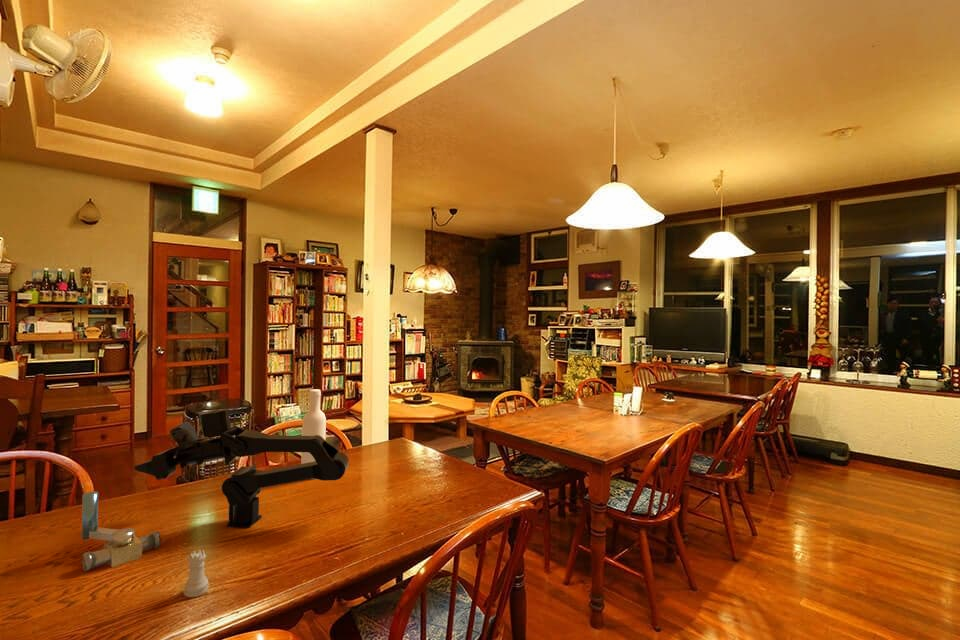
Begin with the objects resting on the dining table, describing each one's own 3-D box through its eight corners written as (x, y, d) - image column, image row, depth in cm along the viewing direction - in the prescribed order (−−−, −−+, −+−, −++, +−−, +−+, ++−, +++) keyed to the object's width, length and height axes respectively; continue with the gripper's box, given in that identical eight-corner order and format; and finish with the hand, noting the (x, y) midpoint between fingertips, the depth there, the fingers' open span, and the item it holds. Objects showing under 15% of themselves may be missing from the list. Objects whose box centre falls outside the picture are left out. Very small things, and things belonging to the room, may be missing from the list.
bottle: (308, 470, 164) (310, 387, 164) (328, 472, 163) (331, 388, 162) (296, 478, 156) (298, 391, 156) (317, 480, 155) (320, 392, 154)
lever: (138, 537, 106) (139, 494, 106) (122, 546, 102) (123, 501, 102) (93, 531, 108) (93, 489, 108) (75, 539, 104) (76, 496, 104)
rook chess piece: (190, 585, 95) (191, 547, 95) (213, 585, 96) (214, 547, 96) (178, 598, 91) (179, 559, 91) (202, 598, 91) (203, 559, 91)
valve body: (153, 542, 112) (153, 526, 112) (161, 550, 108) (162, 534, 108) (81, 566, 101) (81, 548, 101) (88, 575, 97) (88, 557, 97)
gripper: (217, 413, 131) (160, 423, 130) (182, 430, 113) (115, 442, 111) (225, 450, 132) (168, 461, 130) (191, 474, 113) (124, 487, 112)
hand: (146, 462), depth 121 cm, fingers open, 9 cm apart
